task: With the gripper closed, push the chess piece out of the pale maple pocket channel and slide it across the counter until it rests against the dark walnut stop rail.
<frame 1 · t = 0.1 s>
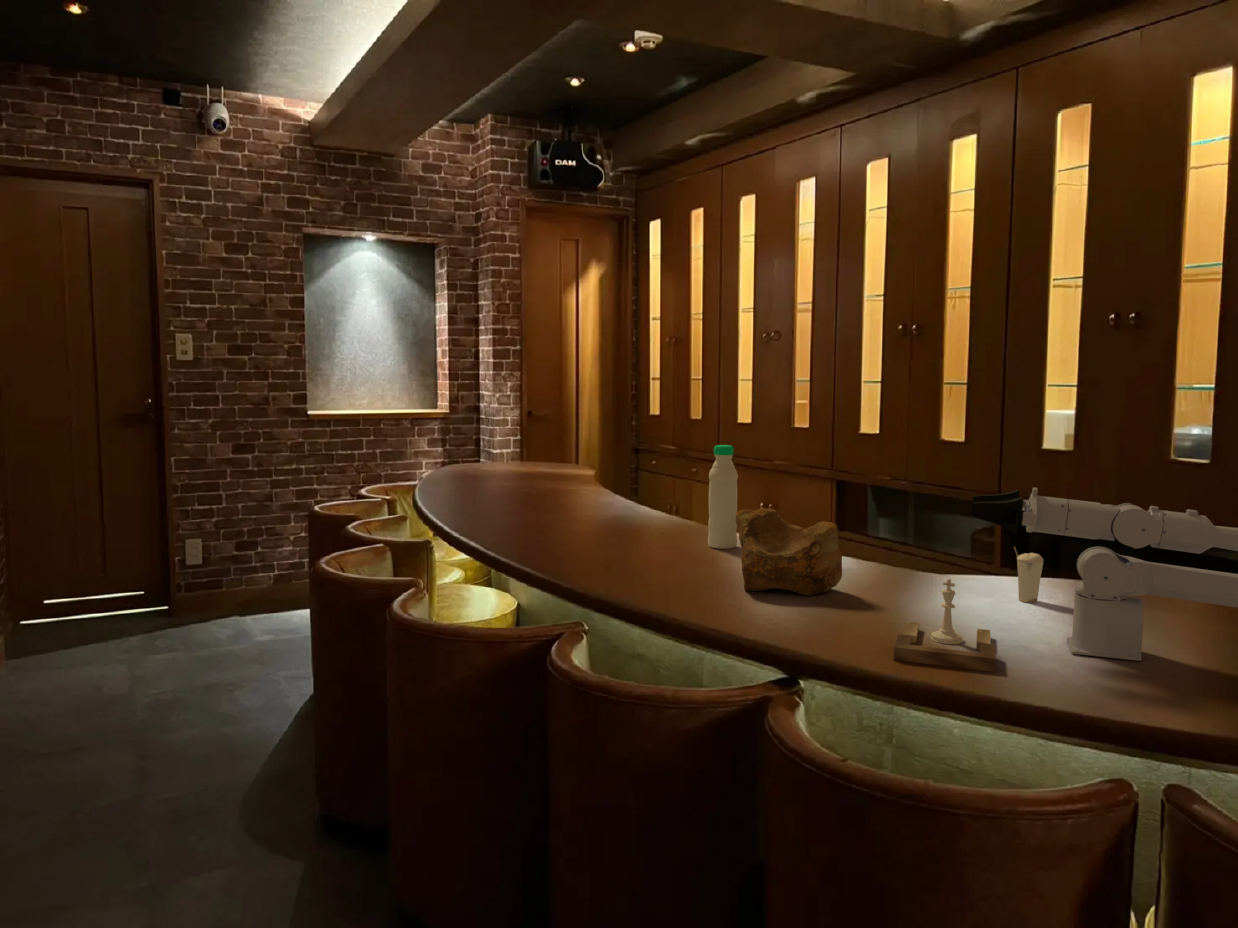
hand: (971, 505, 145), 22 cm above the counter, fingers open, 7 cm apart
chess piece: (946, 640, 145), on the counter
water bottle: (722, 547, 221), on the counter
pocket channel: (946, 639, 145), on the counter
milkshake: (1025, 601, 170), on the counter
rough brown rock: (774, 589, 179), on the counter
stop rail: (943, 663, 133), on the counter
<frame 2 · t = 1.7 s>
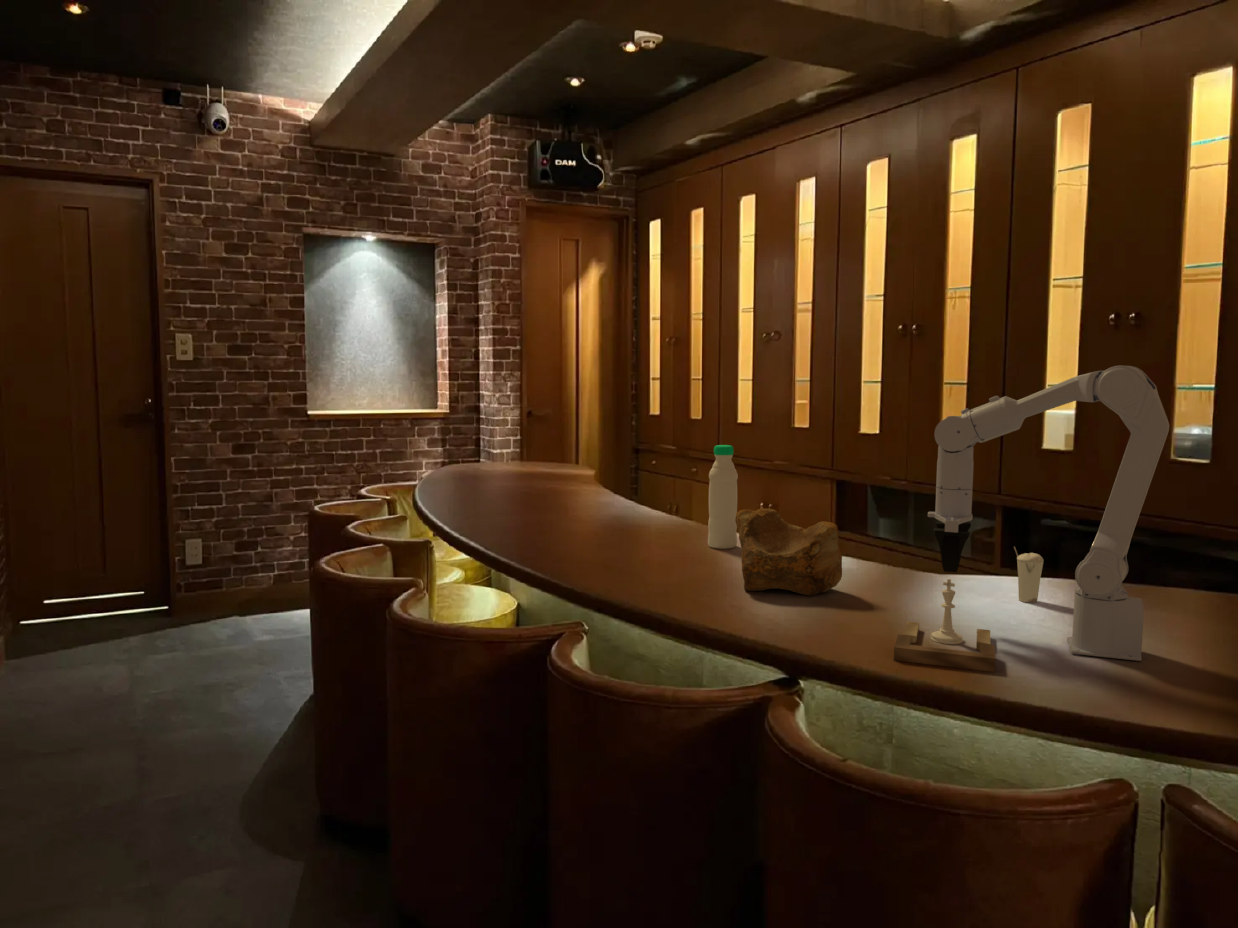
hand: (950, 567, 151), 10 cm above the counter, fingers open, 6 cm apart
nothing on the counter moved.
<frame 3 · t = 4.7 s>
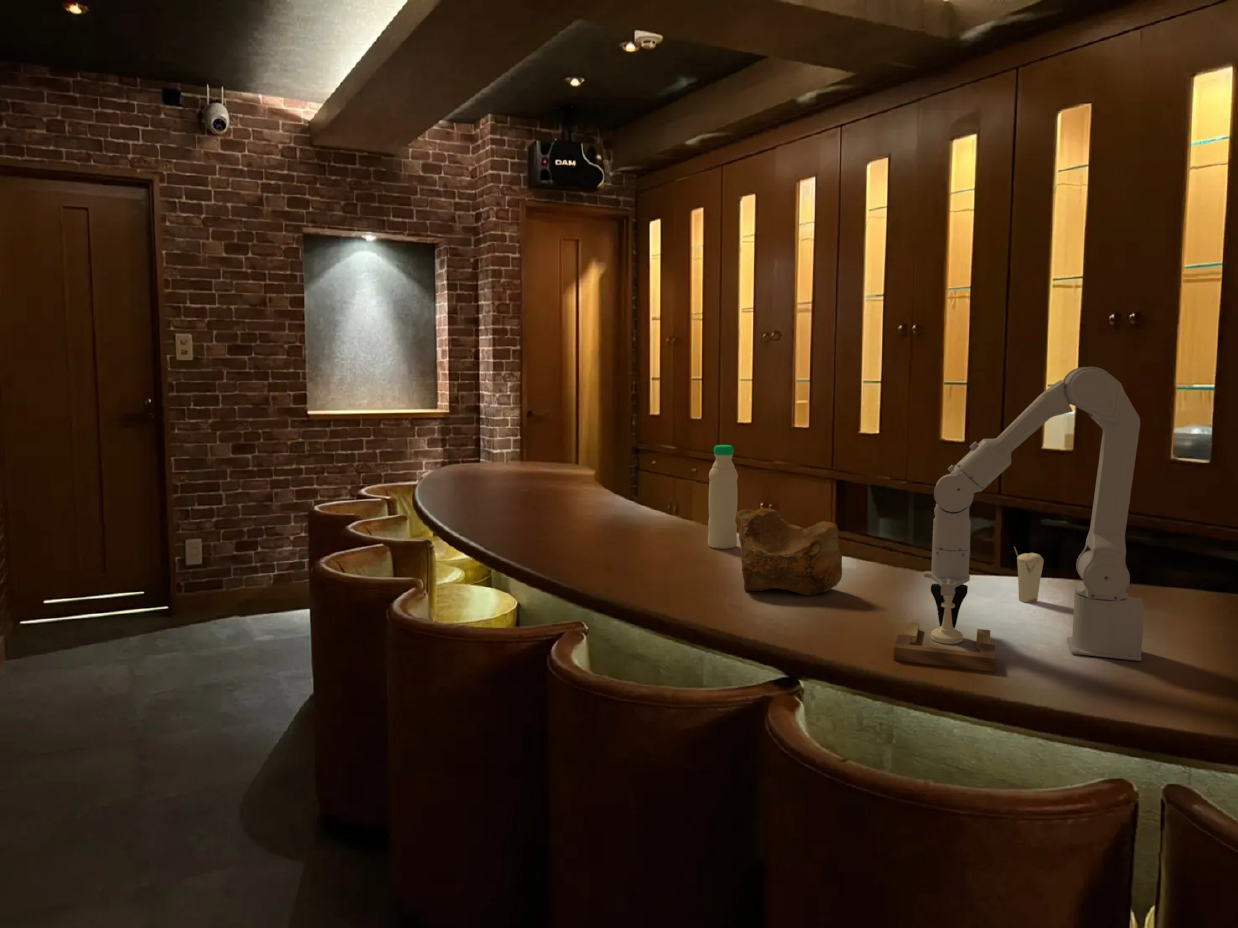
hand: (947, 629, 147), 1 cm above the counter, fingers closed, pressing on chess piece
chess piece: (946, 639, 145), on the counter, touching gripper
everything else where it was.
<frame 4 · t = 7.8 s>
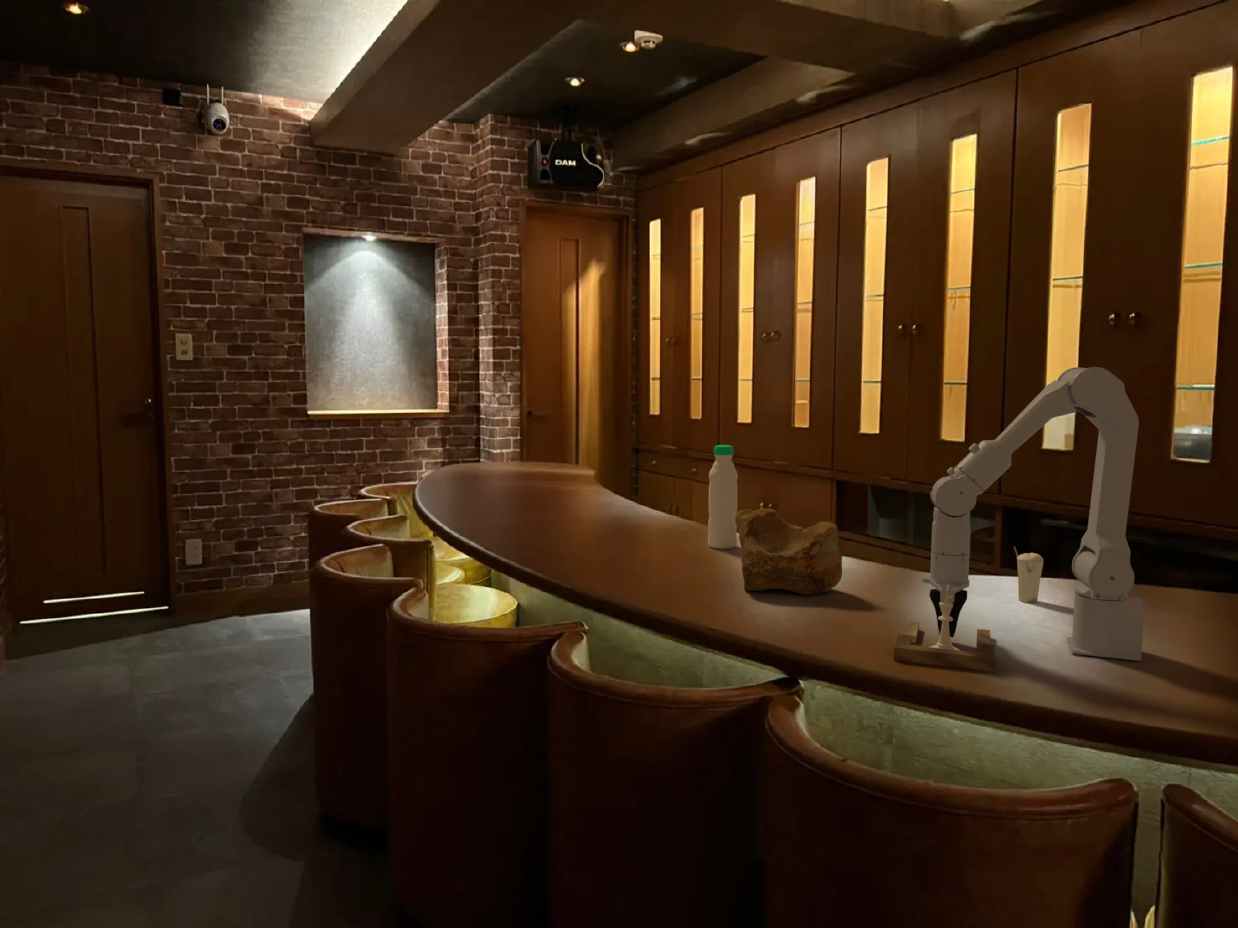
hand: (946, 635, 144), 1 cm above the counter, fingers closed
chess piece: (944, 655, 138), on the counter
everything else where it was.
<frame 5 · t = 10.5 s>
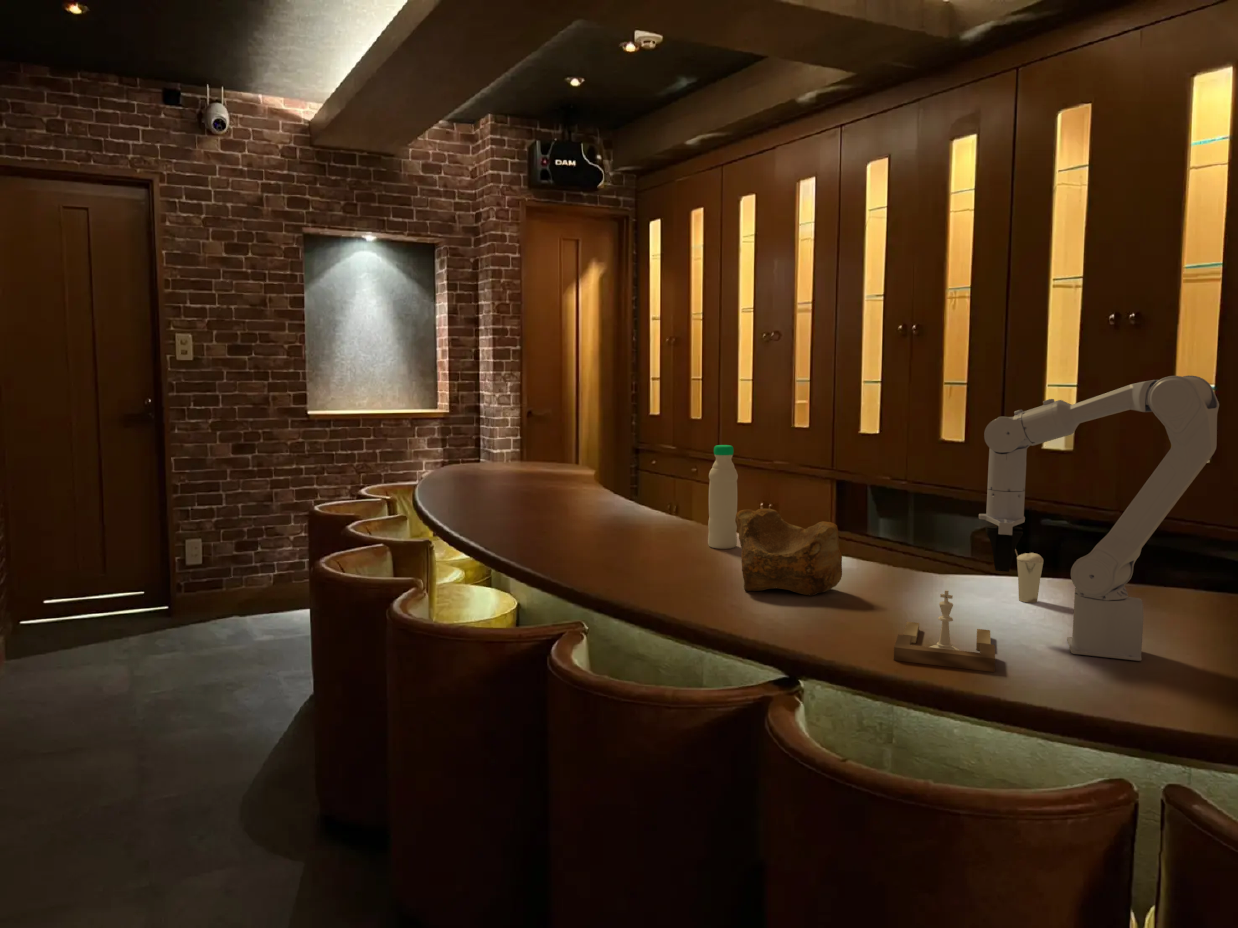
hand: (1002, 570, 149), 10 cm above the counter, fingers closed
nothing on the counter moved.
at the end: chess piece inside the target area (1.3 cm from its centre), on the counter; chess piece tilted 0°; chess piece moved 8.2 cm from its start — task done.
